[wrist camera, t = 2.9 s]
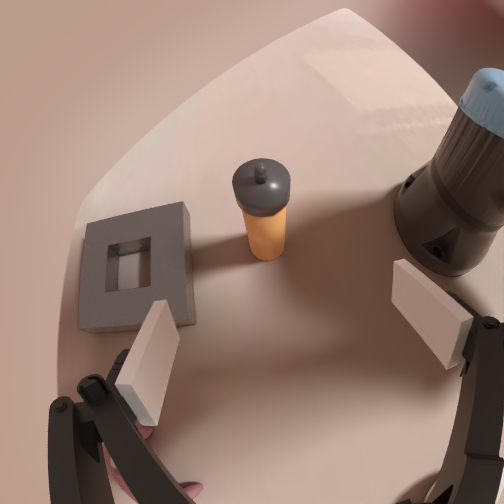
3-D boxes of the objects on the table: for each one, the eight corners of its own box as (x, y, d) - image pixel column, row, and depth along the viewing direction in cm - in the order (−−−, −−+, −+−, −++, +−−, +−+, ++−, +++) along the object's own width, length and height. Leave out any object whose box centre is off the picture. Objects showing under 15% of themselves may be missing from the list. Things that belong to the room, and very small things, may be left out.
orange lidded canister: (283, 224, 34) (283, 140, 22) (290, 259, 32) (296, 184, 20) (245, 230, 34) (226, 149, 22) (250, 266, 32) (232, 194, 20)
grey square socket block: (189, 214, 36) (183, 201, 33) (196, 324, 30) (188, 318, 27) (98, 234, 36) (87, 223, 33) (92, 333, 30) (77, 328, 28)
